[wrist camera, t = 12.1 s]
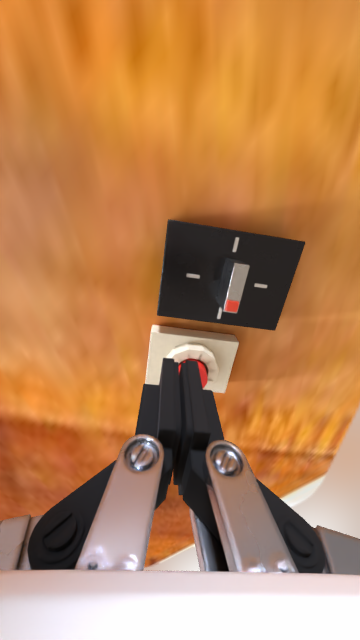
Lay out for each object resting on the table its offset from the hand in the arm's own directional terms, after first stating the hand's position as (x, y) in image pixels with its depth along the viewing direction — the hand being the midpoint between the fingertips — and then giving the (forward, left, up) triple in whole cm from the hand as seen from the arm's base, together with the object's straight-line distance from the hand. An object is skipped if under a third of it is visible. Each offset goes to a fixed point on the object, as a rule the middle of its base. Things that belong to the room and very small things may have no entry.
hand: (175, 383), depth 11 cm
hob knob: (+5, +3, -15) cm, 16 cm away
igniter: (+3, -9, -18) cm, 20 cm away
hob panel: (+5, +3, -18) cm, 19 cm away
